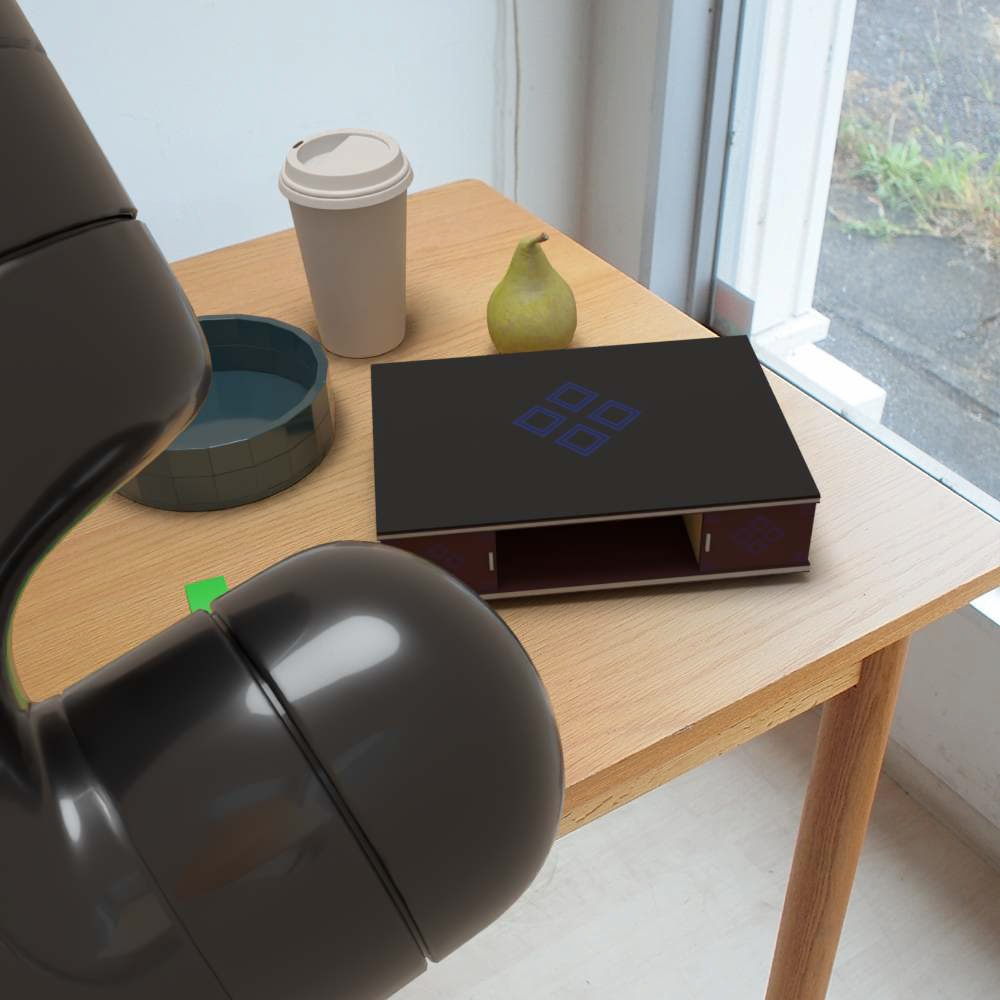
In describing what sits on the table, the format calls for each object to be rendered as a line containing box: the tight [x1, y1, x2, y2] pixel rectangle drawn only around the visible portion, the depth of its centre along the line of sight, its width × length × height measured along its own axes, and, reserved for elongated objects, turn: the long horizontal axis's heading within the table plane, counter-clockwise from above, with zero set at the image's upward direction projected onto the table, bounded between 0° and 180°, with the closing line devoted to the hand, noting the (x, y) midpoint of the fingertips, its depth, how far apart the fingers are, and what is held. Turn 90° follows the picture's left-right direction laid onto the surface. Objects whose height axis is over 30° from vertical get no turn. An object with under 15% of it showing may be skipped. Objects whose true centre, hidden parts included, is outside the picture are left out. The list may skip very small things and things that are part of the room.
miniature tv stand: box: [370, 334, 822, 602], centre depth 82 cm, size 17×25×7 cm
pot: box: [116, 313, 336, 512], centre depth 90 cm, size 16×16×5 cm
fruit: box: [486, 232, 578, 354], centre depth 95 cm, size 7×8×12 cm
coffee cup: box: [277, 128, 414, 359], centre depth 97 cm, size 10×10×15 cm
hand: (212, 748), depth 53 cm, fingers open, 8 cm apart
